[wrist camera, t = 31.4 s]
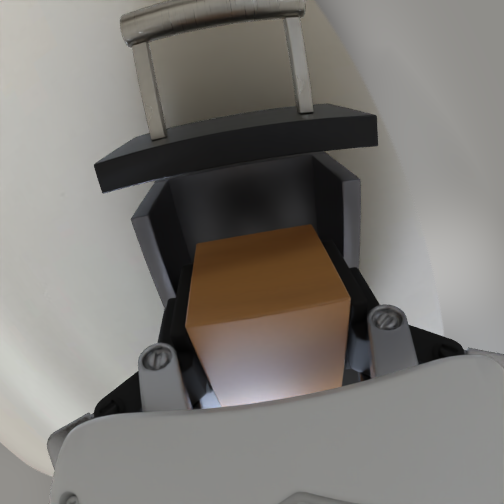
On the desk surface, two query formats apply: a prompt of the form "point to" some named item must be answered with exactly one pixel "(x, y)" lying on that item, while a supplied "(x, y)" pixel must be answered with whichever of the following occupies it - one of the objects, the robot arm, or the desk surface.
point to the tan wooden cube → (268, 316)
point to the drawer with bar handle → (235, 152)
